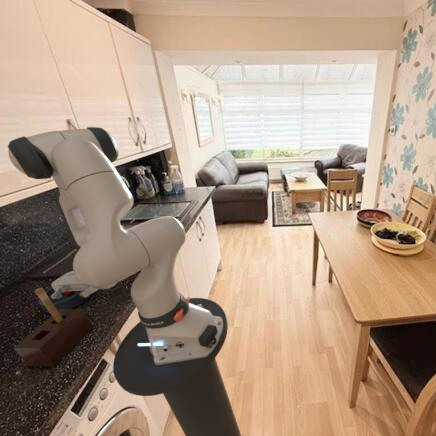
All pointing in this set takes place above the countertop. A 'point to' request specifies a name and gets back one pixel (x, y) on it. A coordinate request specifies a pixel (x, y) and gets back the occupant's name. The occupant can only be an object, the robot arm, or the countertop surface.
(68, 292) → the cherry tomato
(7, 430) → the countertop surface
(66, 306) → the bowl
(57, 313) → the stirring stick
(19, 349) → the utensil block
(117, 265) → the robot arm
